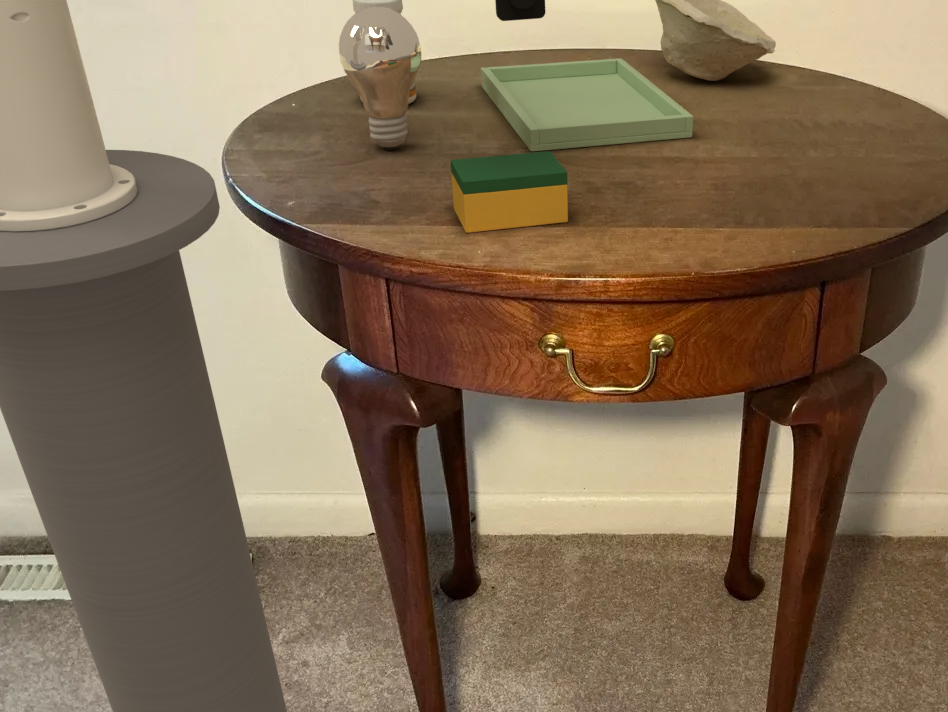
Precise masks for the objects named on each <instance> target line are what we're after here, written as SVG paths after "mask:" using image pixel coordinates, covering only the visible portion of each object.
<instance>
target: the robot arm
mask: <svg viewBox="0 0 948 712" xmlns="http://www.w3.org/2000/svg"><path fill="white" fill-rule="evenodd" d="M494 1H495V15H496V17H497V18H498V19H499V20H500V21H501V22H509V21H510V22H511V21H523V20H536V19H537V20H538V19H542V18H544V17H545V16H546V0H494ZM81 54H82V53H81V51H80V47H79V43H78V39H77V35H76V32H75V26H74V24H73V19H72V16H71V11H70V7H69V5H68V1H67V0H0V231H3V232H34V231H44V230H53V229H59V228H65V227H71V226H75V225H79V224H84V223H87V222H91V221H94V220H97V219H100V218H103V217H105V216H108V215H110V214H113V213H115V212H117V211H119V210H120V209H122V208H124V207H125V206H127V205H128V204H129V203H131V201H132V200H133V199H134V198H135V197H136V194H137V191H138V190H137V186H136V181H135V178H134V176H133V175H132V173H130V172H129V171H127V170H126V169H124V168H121V167H119V166H116V165H111V164H109V161H108V157H107V153H106V150H107V149H106V146H105V142H104V138H103V135H102V132H101V127H100V123H99V119H98V116H97V115H98V114H97V112H96V108H95V104H94V100H93V96H92V93H91V89H90V85H89V81H88V76H87V73H86V70H85V65H84V61H83V58H82V55H81Z"/></svg>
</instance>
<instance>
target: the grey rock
mask: <svg viewBox="0 0 948 712" xmlns="http://www.w3.org/2000/svg"><path fill="white" fill-rule="evenodd" d="M654 1H655V3H656V6H657V11H658V12H659V18H660V21H661V24H662V34H661V39H660V49H661V52H662V55H663V57H664V59H665V61H667V63H668V64H670V65H672V66H673V67H675V68H676V69H679V70H681V71H682V72H684V73H685V74H687V75H689V76H692V77H694V78H698V79H701V80H706V81H710V82H716V81H720V80H723V79H725V78H726V77H727V76H729V75H730V74H733V73H735V72H736V71H737V70H740V69H741V68H742V67H745V66H747V65H749V64H750V63H751V62H754V61H756V60H757V61H758V60H759V59H760V58H762V57H764V56H766V55H767V54H773V53H775V52H776V50H775V48H776V46H777V44H776V40H775V39H773V37H771V36H770V35H768V34H767V33H766V32H765V31H764V30H763V29H762V28H761V27H760V26H759V25H758V24H756V23H755V22H753V21H752V20H750V19H749V18H748V17H747V16H746V15H745V14H744V13H742V11H740V10H739V9H738V8H737V7H735V6H733V5H732V4H731V3H728V2H727V1H725V0H654Z"/></svg>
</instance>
